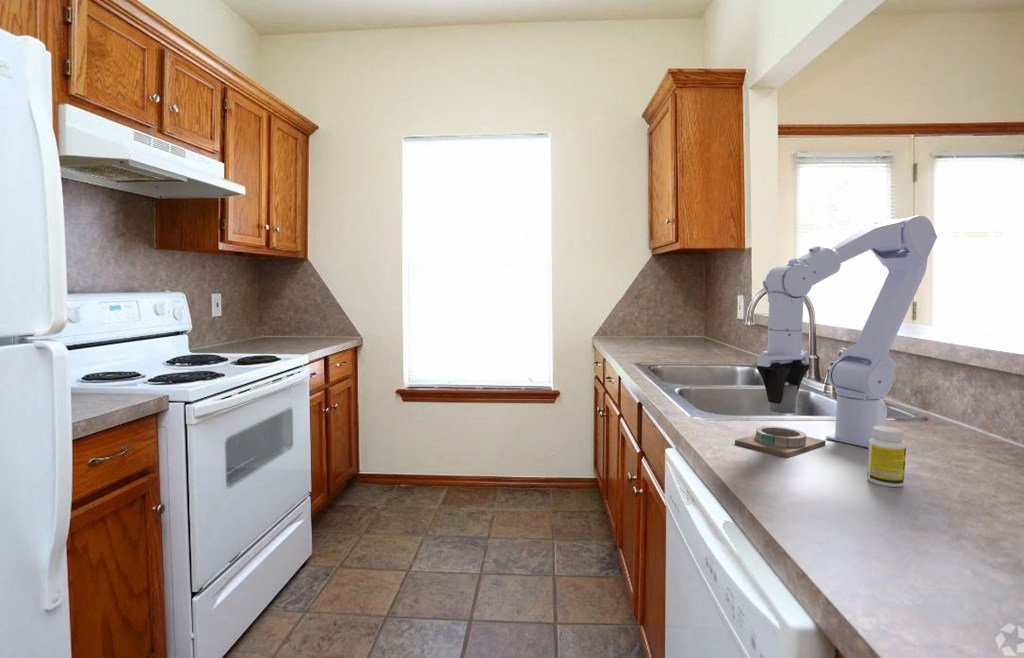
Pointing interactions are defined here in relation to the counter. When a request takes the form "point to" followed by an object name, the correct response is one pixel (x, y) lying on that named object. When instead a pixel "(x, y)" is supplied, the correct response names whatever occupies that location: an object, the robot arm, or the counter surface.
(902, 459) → the supplement bottle
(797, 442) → the hub plate
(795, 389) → the knob
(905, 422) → the counter surface
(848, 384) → the robot arm
